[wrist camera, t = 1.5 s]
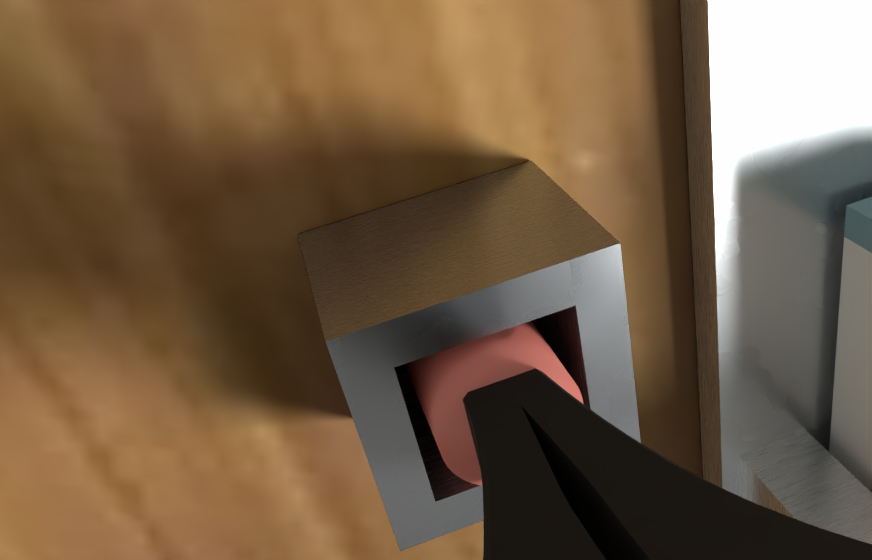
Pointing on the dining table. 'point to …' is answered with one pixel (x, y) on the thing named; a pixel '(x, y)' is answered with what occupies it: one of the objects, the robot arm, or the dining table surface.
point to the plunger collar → (464, 318)
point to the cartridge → (854, 349)
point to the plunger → (477, 386)
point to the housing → (775, 240)
